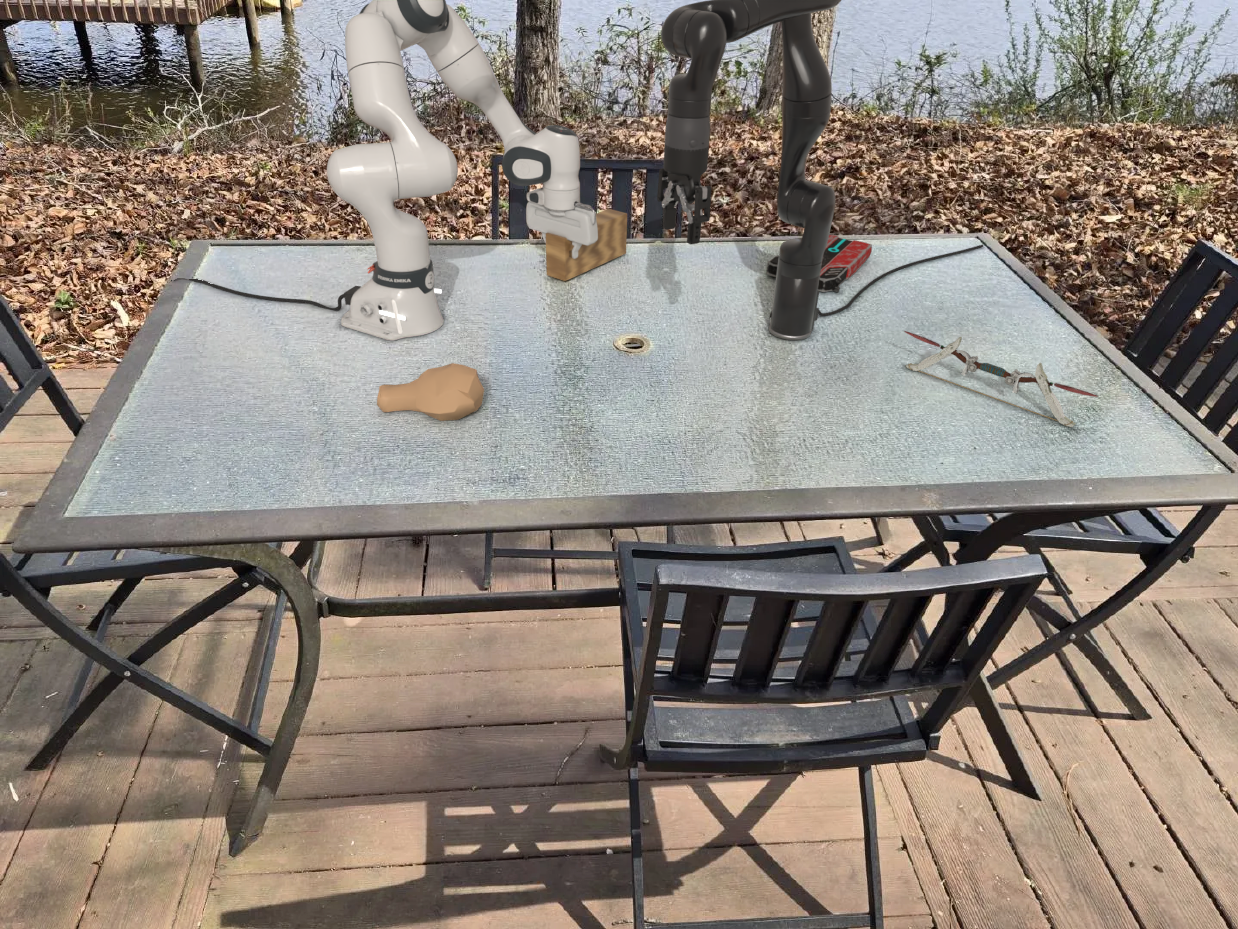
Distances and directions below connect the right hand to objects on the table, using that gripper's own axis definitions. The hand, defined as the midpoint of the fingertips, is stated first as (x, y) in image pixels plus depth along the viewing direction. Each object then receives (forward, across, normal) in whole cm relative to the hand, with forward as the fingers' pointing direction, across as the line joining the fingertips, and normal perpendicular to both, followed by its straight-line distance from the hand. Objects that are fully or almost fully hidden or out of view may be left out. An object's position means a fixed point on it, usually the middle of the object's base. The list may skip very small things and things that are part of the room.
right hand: (680, 235), depth 157 cm
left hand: (+24, +61, -3) cm, 66 cm away
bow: (+31, -29, -56) cm, 70 cm away
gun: (+31, +40, -68) cm, 84 cm away
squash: (+31, +10, +46) cm, 56 cm away
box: (+30, +65, -12) cm, 73 cm away
